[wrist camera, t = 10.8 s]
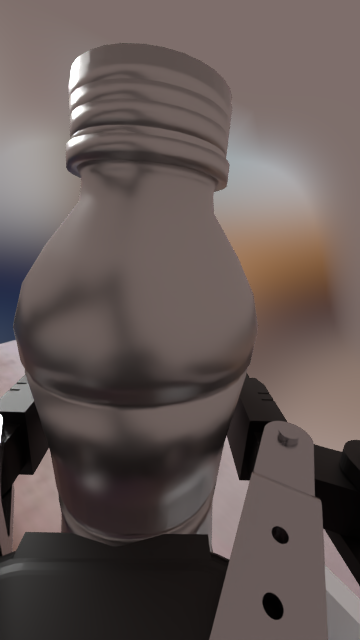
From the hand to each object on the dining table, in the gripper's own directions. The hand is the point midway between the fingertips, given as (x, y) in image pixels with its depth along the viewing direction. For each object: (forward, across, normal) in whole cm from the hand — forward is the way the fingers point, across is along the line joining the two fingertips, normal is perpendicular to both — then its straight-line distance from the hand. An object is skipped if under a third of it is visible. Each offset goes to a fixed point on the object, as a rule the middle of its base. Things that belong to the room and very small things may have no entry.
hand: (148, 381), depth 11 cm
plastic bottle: (-2, 0, +11) cm, 11 cm away
